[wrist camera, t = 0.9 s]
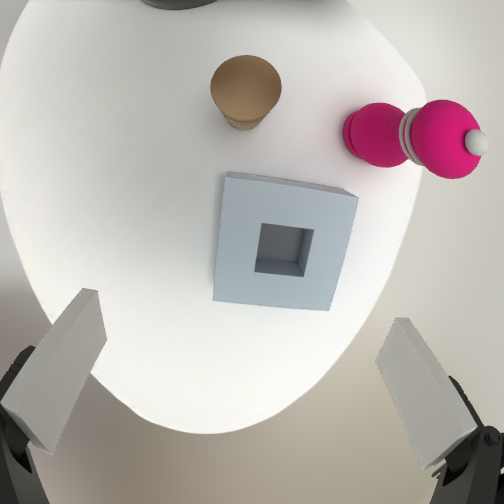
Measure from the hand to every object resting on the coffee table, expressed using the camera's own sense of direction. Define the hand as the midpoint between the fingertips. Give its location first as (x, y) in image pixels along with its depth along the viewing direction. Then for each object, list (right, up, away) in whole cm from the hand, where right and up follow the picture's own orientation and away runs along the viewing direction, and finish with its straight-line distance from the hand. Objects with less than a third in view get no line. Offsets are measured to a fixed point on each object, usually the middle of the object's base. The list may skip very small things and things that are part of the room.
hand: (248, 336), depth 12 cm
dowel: (-1, +19, +18) cm, 26 cm away
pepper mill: (+14, +18, +19) cm, 30 cm away
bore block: (+3, +5, +24) cm, 24 cm away
